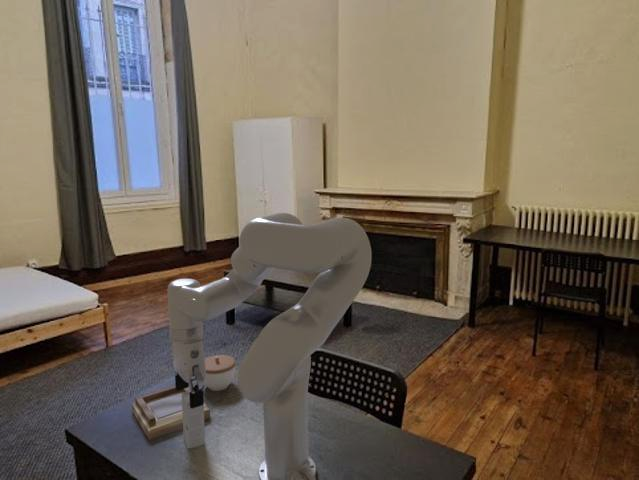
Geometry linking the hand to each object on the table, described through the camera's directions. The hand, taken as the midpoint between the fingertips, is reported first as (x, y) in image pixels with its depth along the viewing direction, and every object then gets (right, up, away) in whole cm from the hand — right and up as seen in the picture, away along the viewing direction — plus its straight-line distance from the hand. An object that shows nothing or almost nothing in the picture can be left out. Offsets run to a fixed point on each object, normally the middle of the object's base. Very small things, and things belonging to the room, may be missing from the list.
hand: (189, 397), depth 111 cm
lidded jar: (+1, -7, +29) cm, 29 cm away
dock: (-9, -9, +13) cm, 18 cm away
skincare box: (+1, -12, +2) cm, 12 cm away
